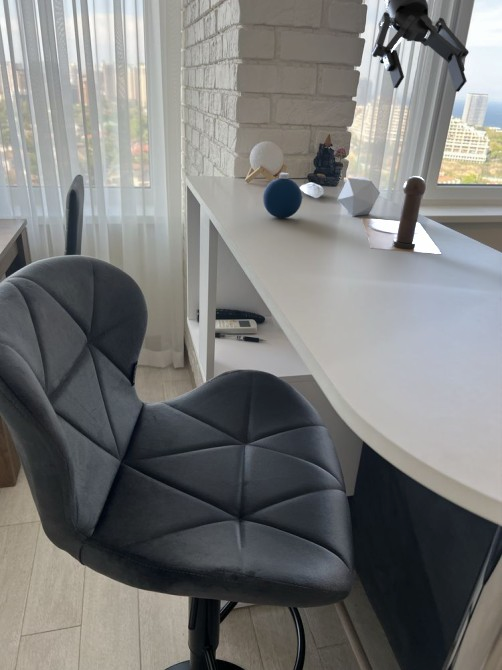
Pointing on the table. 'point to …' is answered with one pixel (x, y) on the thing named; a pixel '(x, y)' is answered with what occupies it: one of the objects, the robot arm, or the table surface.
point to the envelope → (386, 232)
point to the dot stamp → (409, 212)
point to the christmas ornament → (282, 197)
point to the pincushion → (312, 189)
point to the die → (358, 196)
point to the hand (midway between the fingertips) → (430, 84)
